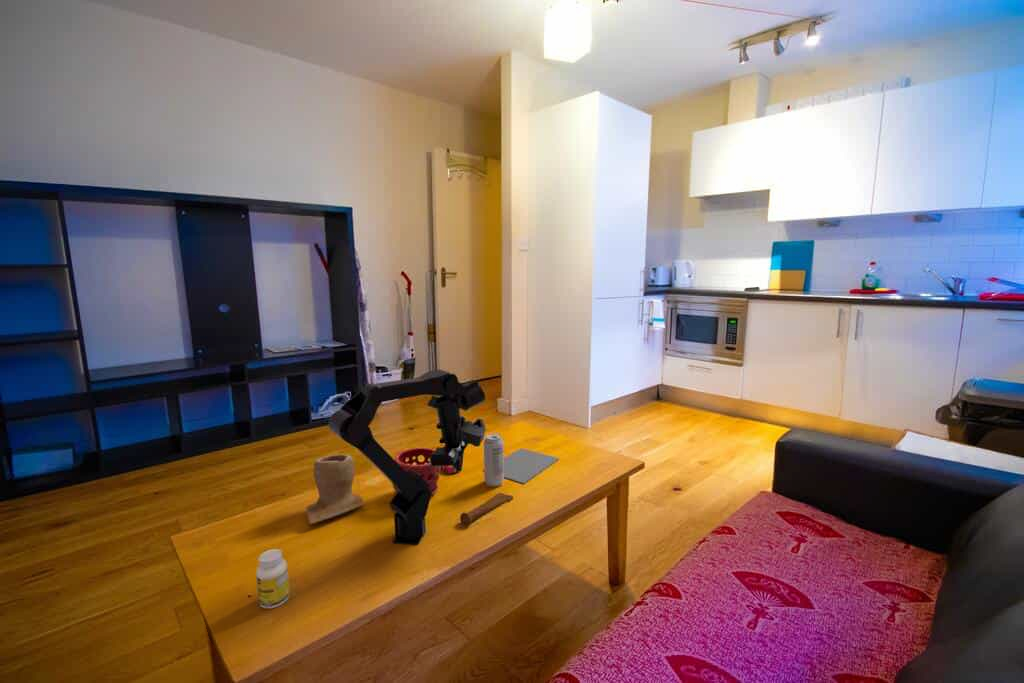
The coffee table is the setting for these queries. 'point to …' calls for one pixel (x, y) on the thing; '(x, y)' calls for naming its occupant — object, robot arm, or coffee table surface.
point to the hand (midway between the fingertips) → (459, 470)
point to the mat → (526, 465)
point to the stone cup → (333, 488)
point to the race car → (449, 469)
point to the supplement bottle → (272, 579)
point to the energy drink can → (493, 460)
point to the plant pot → (420, 465)
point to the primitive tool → (485, 508)
